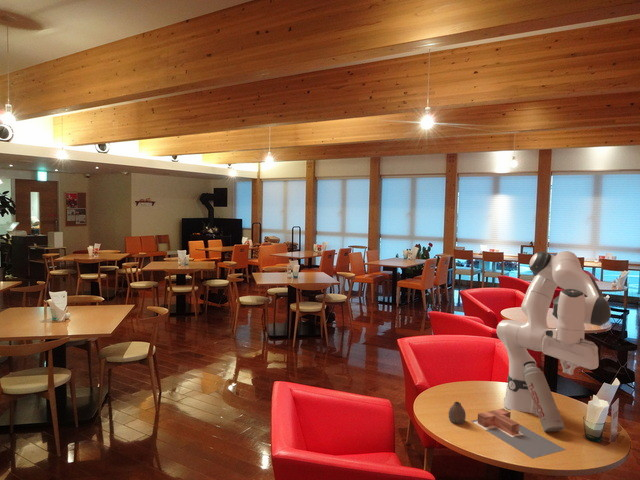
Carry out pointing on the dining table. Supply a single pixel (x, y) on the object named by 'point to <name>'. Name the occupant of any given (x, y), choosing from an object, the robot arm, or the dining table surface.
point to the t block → (499, 421)
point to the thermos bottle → (542, 398)
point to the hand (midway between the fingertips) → (567, 373)
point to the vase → (457, 413)
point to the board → (525, 441)
